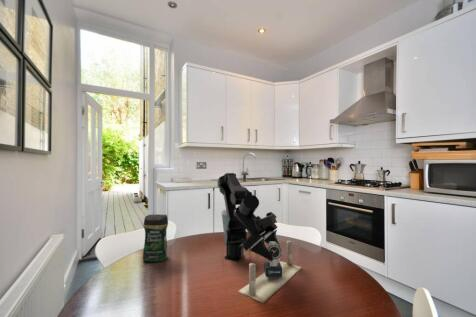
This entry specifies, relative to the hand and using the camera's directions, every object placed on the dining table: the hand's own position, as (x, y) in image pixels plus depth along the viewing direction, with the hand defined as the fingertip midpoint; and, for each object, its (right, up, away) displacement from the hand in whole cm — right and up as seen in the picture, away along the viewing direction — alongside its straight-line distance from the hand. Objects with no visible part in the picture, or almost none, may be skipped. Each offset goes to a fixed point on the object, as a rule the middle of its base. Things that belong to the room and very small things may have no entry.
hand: (276, 256), depth 81 cm
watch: (-1, -7, +1) cm, 7 cm away
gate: (-1, -9, 0) cm, 9 cm away
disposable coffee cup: (-17, -9, +47) cm, 51 cm away
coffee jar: (-48, -9, +17) cm, 52 cm away
